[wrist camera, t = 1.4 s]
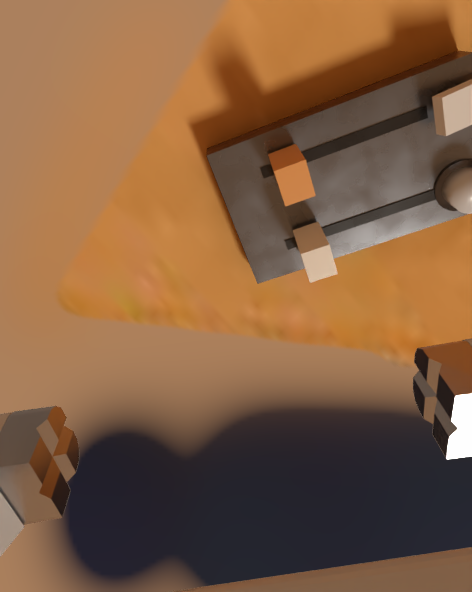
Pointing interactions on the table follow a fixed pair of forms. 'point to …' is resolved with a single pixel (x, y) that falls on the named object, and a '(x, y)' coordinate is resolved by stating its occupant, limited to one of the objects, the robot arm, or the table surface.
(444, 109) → the plate
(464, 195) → the button
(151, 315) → the table surface
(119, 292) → the table surface
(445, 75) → the console
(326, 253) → the fader ivory
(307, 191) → the fader orange
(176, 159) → the table surface
